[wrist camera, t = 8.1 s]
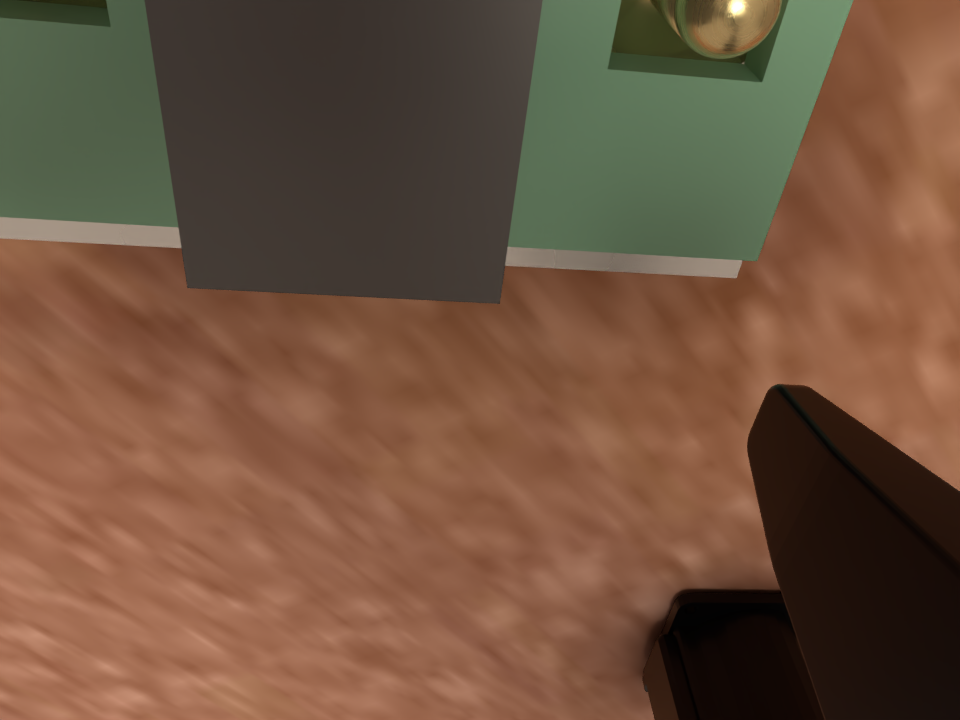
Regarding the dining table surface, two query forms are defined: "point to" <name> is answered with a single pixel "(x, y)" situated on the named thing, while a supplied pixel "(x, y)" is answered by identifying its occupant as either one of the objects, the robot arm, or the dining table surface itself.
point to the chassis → (639, 30)
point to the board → (572, 144)
